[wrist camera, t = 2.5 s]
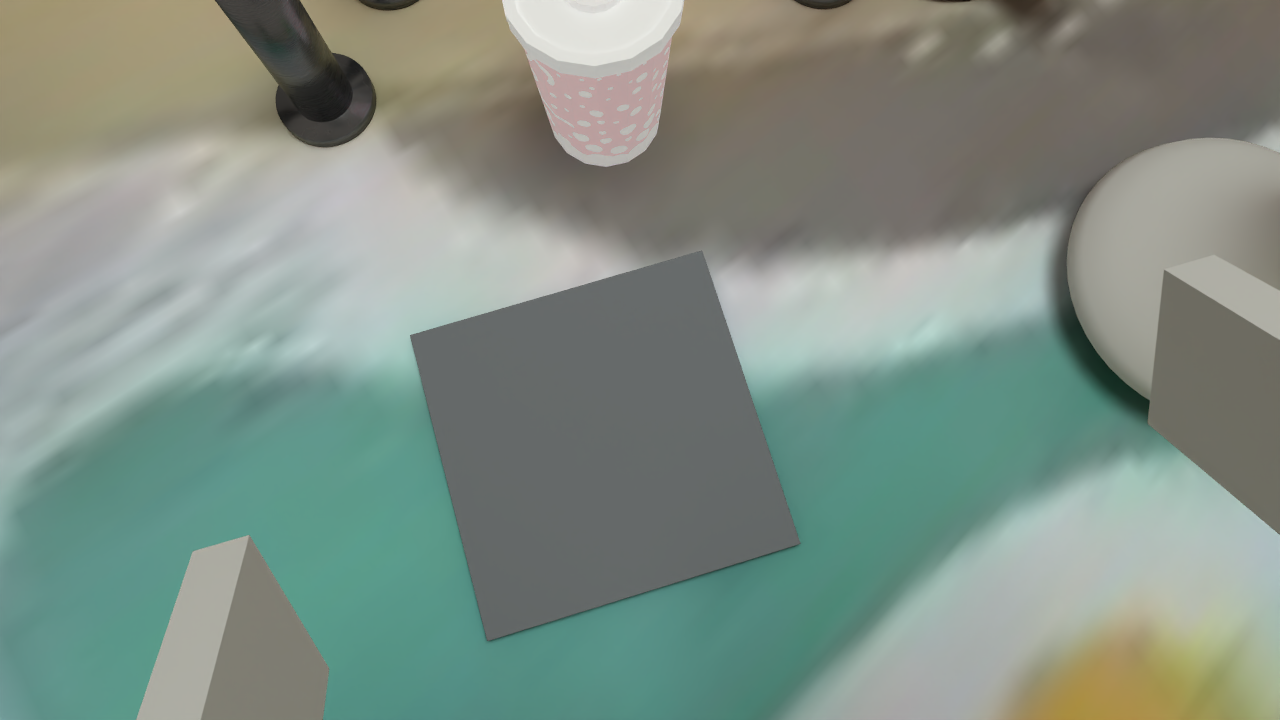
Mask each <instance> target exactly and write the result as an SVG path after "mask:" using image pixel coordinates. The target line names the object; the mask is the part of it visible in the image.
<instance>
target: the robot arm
mask: <svg viewBox="0 0 1280 720" xmlns="http://www.w3.org/2000/svg"><path fill="white" fill-rule="evenodd" d="M1148 424H1149V425H1150V426H1151V427H1152V428H1154V429H1155V430H1156V431H1157V432H1158V433H1159V434H1161V435H1162V436H1163V437H1164V438H1165V439H1167V440H1168V441H1169V442H1170V443H1171V444H1173V445H1174V446H1175V447H1176V448H1177V449H1178V450H1180V451H1181V452H1182V453H1183V454H1184V455H1186V456H1187V457H1188V458H1189V459H1190V460H1192V461H1193V462H1194V463H1195V464H1196V465H1198V466H1199V467H1200V468H1201V469H1202V470H1203V471H1205V472H1206V473H1207V474H1208V475H1209V476H1211V477H1212V478H1213V479H1214V480H1215V481H1217V482H1218V483H1219V484H1220V485H1221V486H1222V487H1224V488H1225V489H1226V490H1227V491H1228V492H1230V493H1231V494H1232V495H1233V496H1234V497H1236V498H1237V499H1238V500H1239V501H1240V502H1241V503H1243V504H1244V505H1245V506H1246V507H1247V508H1249V509H1250V510H1251V511H1252V512H1253V513H1255V514H1256V515H1257V516H1258V517H1259V518H1260V519H1262V520H1263V521H1264V522H1265V523H1266V524H1268V525H1269V526H1270V527H1271V528H1272V529H1274V530H1275V531H1276V532H1277V533H1278V534H1279V535H1280V291H1279V290H1277V289H1275V288H1274V287H1272V286H1270V285H1268V284H1266V283H1265V282H1263V281H1261V280H1259V279H1257V278H1256V277H1254V276H1252V275H1250V274H1248V273H1246V272H1245V271H1243V270H1241V269H1239V268H1237V267H1236V266H1234V265H1232V264H1230V263H1228V262H1227V261H1225V260H1223V259H1221V258H1219V257H1218V256H1216V255H1212V256H1208V257H1205V258H1201V259H1198V260H1194V261H1191V262H1188V263H1184V264H1181V265H1177V266H1174V267H1170V268H1167V269H1164V274H1163V283H1162V292H1161V302H1160V311H1159V321H1158V330H1157V339H1156V349H1155V358H1154V368H1153V377H1152V386H1151V396H1150V405H1149V414H1148ZM328 674H329V667H328V666H327V664H326V662H325V661H324V659H323V657H322V656H321V654H320V652H319V651H318V649H317V647H316V646H315V644H314V642H313V641H312V639H311V637H310V636H309V634H308V632H307V631H306V629H305V627H304V626H303V624H302V622H301V621H300V619H299V617H298V616H297V614H296V612H295V611H294V609H293V607H292V606H291V604H290V602H289V600H288V599H287V597H286V595H285V594H284V592H283V590H282V589H281V587H280V585H279V584H278V582H277V580H276V579H275V577H274V575H273V574H272V572H271V570H270V569H269V567H268V565H267V564H266V562H265V560H264V559H263V557H262V555H261V554H260V552H259V550H258V549H257V547H256V545H255V544H254V542H253V540H252V539H251V537H250V535H248V536H244V537H241V538H237V539H234V540H231V541H227V542H224V543H220V544H217V545H213V546H210V547H206V548H203V549H200V550H196V551H193V553H192V555H191V558H190V561H189V564H188V567H187V570H186V573H185V576H184V579H183V582H182V585H181V588H180V591H179V594H178V597H177V600H176V603H175V606H174V609H173V612H172V615H171V618H170V621H169V624H168V627H167V630H166V633H165V636H164V639H163V642H162V645H161V648H160V651H159V654H158V657H157V660H156V663H155V666H154V669H153V672H152V675H151V678H150V681H149V684H148V687H147V690H146V692H145V695H144V698H143V701H142V704H141V707H140V710H139V713H138V716H137V719H136V720H323V713H324V705H325V698H326V690H327V682H328Z"/></svg>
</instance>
